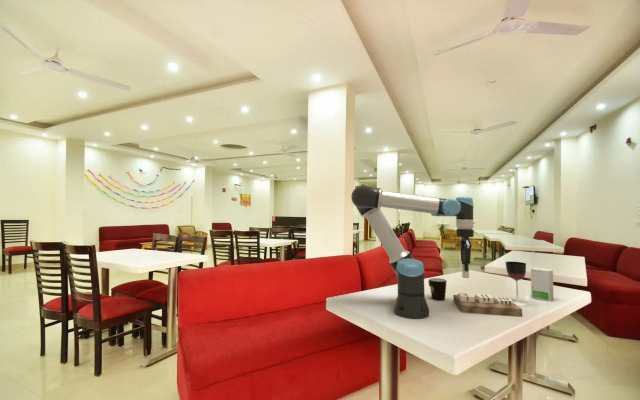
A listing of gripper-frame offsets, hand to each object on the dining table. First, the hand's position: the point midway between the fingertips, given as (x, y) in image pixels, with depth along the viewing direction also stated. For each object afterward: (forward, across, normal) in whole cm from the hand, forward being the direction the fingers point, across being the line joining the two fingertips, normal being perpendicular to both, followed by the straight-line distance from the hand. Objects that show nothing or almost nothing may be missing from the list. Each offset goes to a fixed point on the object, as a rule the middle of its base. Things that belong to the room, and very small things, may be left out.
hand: (465, 277), depth 137 cm
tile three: (+11, 0, -16) cm, 20 cm away
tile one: (+11, 0, 0) cm, 11 cm away
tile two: (+10, 0, -8) cm, 13 cm away
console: (+14, 0, -8) cm, 16 cm away
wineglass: (+14, +12, -26) cm, 32 cm away
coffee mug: (+14, +13, +11) cm, 22 cm away
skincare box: (+13, +24, -42) cm, 50 cm away
